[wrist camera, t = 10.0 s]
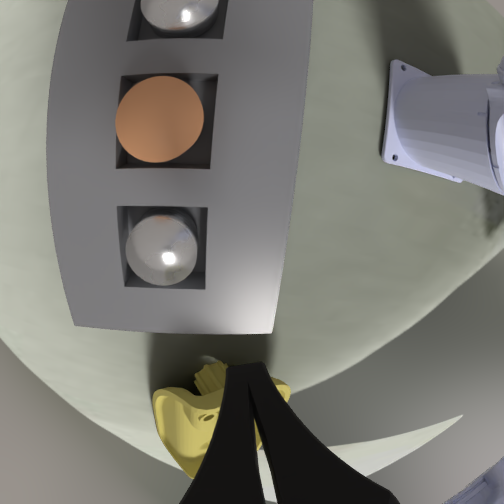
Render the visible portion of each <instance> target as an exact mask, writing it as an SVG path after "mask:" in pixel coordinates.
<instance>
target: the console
mask: <svg viewBox="0 0 504 504" xmlns="http://www.w3.org/2000/svg"><path fill="white" fill-rule="evenodd" d="M312 13H313V0H219V2H218V13H217V17H216V20H215V22H214V23H213V25H212V26H211V27H210V28H209V29H208V30H207V31H206V32H204V33H203V34H201V35H199V36H197V37H195V38H172V39H164V38H162V37H160V36H158V35H157V34H156V33H155V32H154V31H153V30H152V28H151V27H150V25H149V23H148V22H147V20H146V18H145V17H144V15H143V13H142V11H141V0H68V2H67V5H66V9H65V12H64V16H63V20H62V23H61V27H60V31H59V36H58V40H57V45H56V50H55V55H54V61H53V67H52V74H51V81H50V90H49V100H48V113H47V137H46V157H47V182H48V195H49V206H50V215H51V223H52V230H53V236H54V243H55V248H56V254H57V259H58V264H59V269H60V273H61V278H62V282H63V286H64V290H65V294H66V298H67V302H68V305H69V309H70V312H71V316H72V319H73V322H74V325H75V326H82V327H91V328H101V329H112V330H124V331H137V332H154V333H178V334H266V333H272V330H273V325H274V319H275V313H276V307H277V301H278V296H279V290H280V283H281V277H282V271H283V265H284V258H285V252H286V245H287V239H288V232H289V225H290V218H291V211H292V204H293V197H294V189H295V182H296V174H297V166H298V158H299V150H300V142H301V133H302V124H303V115H304V106H305V96H306V86H307V76H308V65H309V53H310V41H311V27H312ZM156 76H170V77H174V78H178V79H180V80H182V81H184V82H185V83H187V84H188V85H190V86H191V87H192V88H193V89H194V91H195V92H196V93H197V95H198V97H199V99H200V101H201V104H202V107H203V111H204V125H203V129H202V132H201V134H200V136H199V138H198V139H197V141H196V142H195V143H194V144H193V145H192V146H191V147H190V148H189V149H188V150H186V151H185V152H184V153H183V154H181V155H180V156H178V157H176V158H174V159H171V160H168V161H164V162H146V161H143V160H140V159H137V158H135V157H134V156H132V155H131V154H129V153H128V152H127V151H126V150H125V149H124V147H123V146H122V144H121V143H120V141H119V139H118V136H117V133H116V127H115V119H116V113H117V109H118V107H119V104H120V102H121V100H122V99H123V97H124V96H125V94H126V93H127V92H128V91H129V90H130V89H131V88H132V87H133V86H135V85H136V84H138V83H139V82H141V81H143V80H145V79H148V78H151V77H156ZM159 206H172V207H176V208H179V209H181V210H183V211H184V212H186V213H187V214H188V215H189V216H190V217H191V218H192V220H193V221H194V223H195V225H196V227H197V230H198V248H197V260H196V264H195V266H194V268H193V270H192V272H191V273H190V274H189V275H188V276H187V277H186V278H185V279H184V280H182V281H180V282H178V283H176V284H172V285H166V286H161V285H155V284H151V283H149V282H146V281H144V280H143V279H141V278H140V277H139V276H137V275H136V274H135V273H134V271H133V270H132V269H131V267H130V265H129V263H128V261H127V257H126V242H127V239H128V236H129V234H130V233H131V231H132V230H133V228H134V227H135V225H136V224H137V223H138V221H139V220H140V218H141V217H142V216H143V215H144V214H145V213H146V212H147V211H149V210H151V209H153V208H155V207H159Z"/></svg>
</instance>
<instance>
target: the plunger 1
mask: <svg viewBox="0 0 504 504" xmlns="http://www.w3.org/2000/svg"><path fill="white" fill-rule="evenodd" d="M218 2H219V0H141V11H142V13H143V15H144V17H145V18H146V20H147V22H148V23H149V25H150V27H151V28H152V30H153V31H154V32H155V33H156V34H157V35H158V36H160V37H162V38H164V39H172V38H195V37H197V36H199V35H201V34H203V33H204V32H206V31H207V30H208V29H209V28H210V27H211V26H212V25H213V23H214V22H215V20H216V17H217V13H218Z"/></svg>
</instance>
